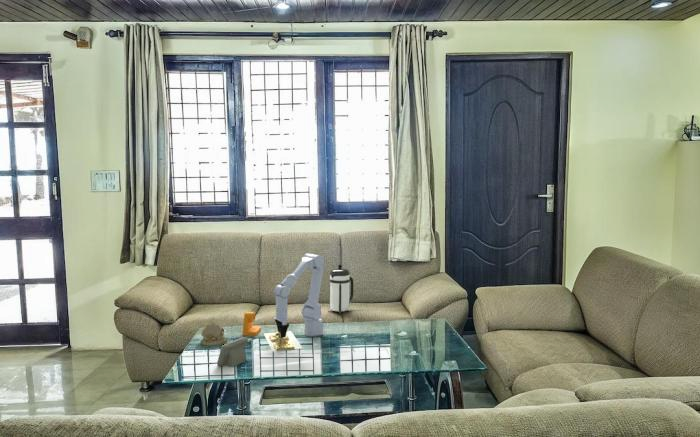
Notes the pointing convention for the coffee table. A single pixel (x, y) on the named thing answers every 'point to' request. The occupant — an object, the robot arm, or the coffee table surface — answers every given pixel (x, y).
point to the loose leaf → (273, 337)
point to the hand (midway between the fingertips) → (281, 334)
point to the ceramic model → (213, 335)
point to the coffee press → (340, 289)
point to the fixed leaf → (283, 343)
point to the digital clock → (233, 353)
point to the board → (291, 339)
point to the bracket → (250, 325)
